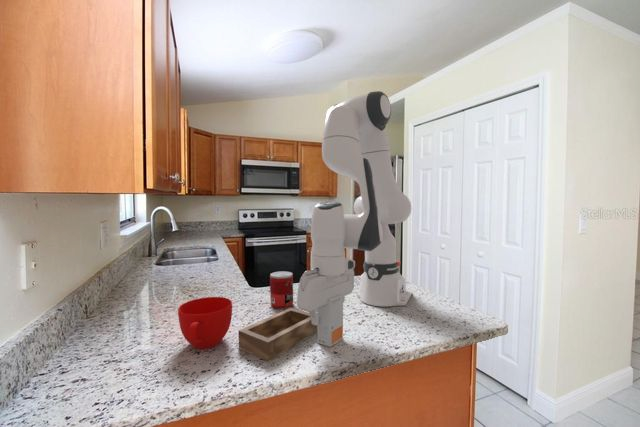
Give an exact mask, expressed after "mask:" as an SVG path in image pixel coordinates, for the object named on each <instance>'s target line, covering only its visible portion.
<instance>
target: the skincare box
mask: <svg viewBox="0 0 640 427" xmlns="http://www.w3.org/2000/svg"><path fill="white" fill-rule="evenodd" d="M317 314H318V316H319V317H321V320H320V321H321V323H320V324H318V325H317V333H316V335H317V338H316V339H317V340H316V342H317V343H318V344H320V345H324V346H326V347H329V348H330V347H333V346H334V345H335V344H337V343H338V342H340V341H342V340H343V339H344V303H343V294H339V295H336V296H334V297H332V298H330V299H328V303H327V304H326V305H323V306H321V307H319V308H318V312H317Z"/></svg>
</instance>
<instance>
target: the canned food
mask: <svg viewBox="0 0 640 427" xmlns="http://www.w3.org/2000/svg"><path fill="white" fill-rule="evenodd" d="M293 274H294V273H293V272H291V271H284V270H283V271H280V270H279V271H275V272H272V273H270V275H269V286H270V287H269V290H270V291H269V293H270V295H269V296H270V297H269V298H270V306H271V307H272V308H274V309H279V308H280V309H281V308H283V309H289V308H292V306H293V304H294V275H293ZM280 309H279V310H280Z"/></svg>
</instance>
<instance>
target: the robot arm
mask: <svg viewBox="0 0 640 427" xmlns="http://www.w3.org/2000/svg"><path fill="white" fill-rule="evenodd" d="M390 102H391V101H390V99H389V98H388V96H387V94H385V93H384V92H383V91H380V90H379V91H378V90H377V91H370V92H368V93H365V94H360V95H356V96H353V97H351V98H350V99H346V100H345V101H342V102H341V103H340V102H339V103H336V104H334V105H333V106H330V108H328V110H327V112H326V115H325V121H324V126H323V132H322V137H321V141H322V143H321V158H322V160H323V162H324V163H323V164H325V166H326V167H327V168H328V169H329V170H331V171H332V172H335V173H336V174H338V175H341V176H344V177H346V178H349V179H351V180H352V181H355V183H357V184H358V187H359V191H360V196H358V197H357V198H356V199H355V201H354V204H353V212H354V213H352V214H351V213H345V210H344V206H343V204H342V203H341V202H337V201H324V202H323V201H322V202H318V203H316V204H314V206H313V209H312V215H311V223H310V224H311V225H310V238H311V239H310V240H311V243H312V246H311V250H310V270H305V271H304V272H303V273H302V276H301V277H300V279H299V283H298V288H297V298H296V306H297V308H298V310H300V311H304V312H307V313H309V314H310V316H311V323H312V324H313V325H318V324H320V323H321V321H320V320H321V317H319V316H318V314H317V312H318V308H319V307H321V306H323V305H326V304H327V303H328V299H330V298H332V297H334V296H336V295H339V294H343V304H344V302H345V299H346V296H348V295H350V294H352V293H353V291H354V288H355V270H354V269H355V267H356V261H355V260H354V259H350V258H347V257H346V250H345V249H348V250H349V249H350V250H351V249H352V250H358V251H364V261H363V273H362V274H361V275H360V284H359V285H360V288H359V292H357V293H356V296H357V297H358V298H359V299H360V301H361V302H363V303H364V304H367V305H370V306H373V307H375V306H376V307H394V306H407V305H408V303H409V300H410V298H411V296H413V293H412V292H413V291H412V290H409V289H407V288H406V287H407V286H406V278H404V276H403V275H402V274H401V273H400V272H399V271H400V270H399V267H401V261H400V260H397V239H396V238H395V237H394V235H393V234H392V232H391V230H390V227H389V225H394V224H395V225H396V224H399V223H403V222H405V221H406V220H408V218H409V217H410V215H411V212H412V204H411V201H410V199H409V196H407V195H405V194H404V192H403V191H402V189H401V188H400V187H399V185H398V182H397V180H396V178H395V175H394V171H393V165H392V158H391V151H390V150H391V149H390V144H389V139H388V134H387V131H386V128H387V127H386V126H387V124H388V122H389V121H390V118H391V115H392V107H391V103H390Z"/></svg>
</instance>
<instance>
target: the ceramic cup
mask: <svg viewBox="0 0 640 427" xmlns="http://www.w3.org/2000/svg"><path fill="white" fill-rule="evenodd" d="M177 314H178V315H177V316H178V323H179V328H180V330H181V331H180V332H181V333H182V336H183V337H184V339H185V340H186V342H187V343H188V344H190V345H191V346H193V348H195V349H196V350H207V349H211V348H214V347H216V346H218V345H219V344H220V343H221V341H222V340H223V339H224V338H225V336H226V334H227V333H228V332H229V329H230V327H231V322H232V316H233V315H232V314H233V301H232V300H231V299H230V298H228V297H224V296H222V297H221V296H208V297H207V296H206V297H201V298H195V299H192V300H188V301H185V302H184V303H182V304H181V305H180V306H179V307H178V309H177Z"/></svg>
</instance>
